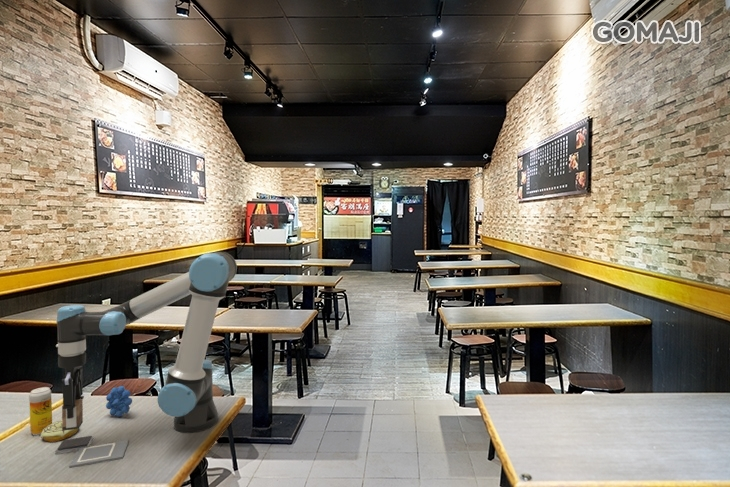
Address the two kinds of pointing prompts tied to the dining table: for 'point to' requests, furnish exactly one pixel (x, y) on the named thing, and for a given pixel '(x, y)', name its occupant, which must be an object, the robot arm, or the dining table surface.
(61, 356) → the robot arm
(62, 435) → the decorated donut
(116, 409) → the grapes
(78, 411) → the brown wooden block
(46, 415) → the beer can
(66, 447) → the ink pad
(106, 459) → the board
